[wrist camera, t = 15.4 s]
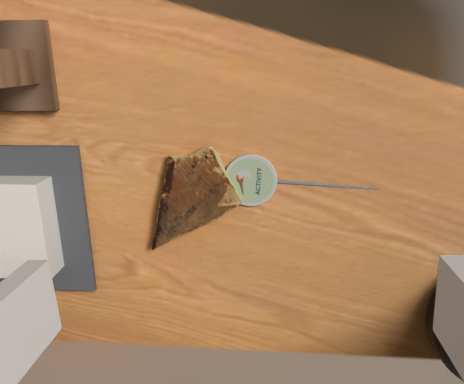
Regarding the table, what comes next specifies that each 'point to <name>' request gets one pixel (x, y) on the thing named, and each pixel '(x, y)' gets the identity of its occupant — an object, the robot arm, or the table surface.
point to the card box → (28, 223)
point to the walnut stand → (27, 67)
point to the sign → (261, 179)
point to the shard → (193, 194)
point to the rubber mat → (60, 206)
